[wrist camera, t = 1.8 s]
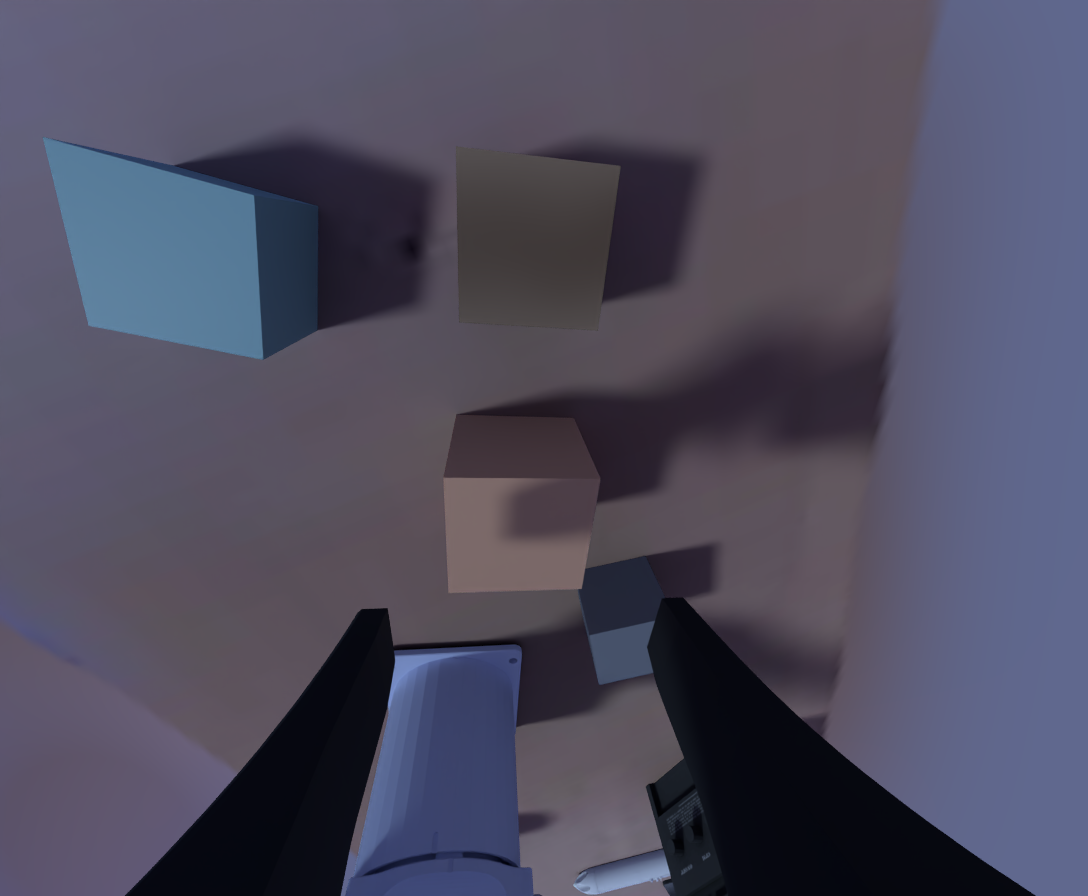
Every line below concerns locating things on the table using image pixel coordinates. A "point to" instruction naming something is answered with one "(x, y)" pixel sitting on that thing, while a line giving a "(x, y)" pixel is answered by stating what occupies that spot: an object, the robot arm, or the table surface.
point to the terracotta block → (518, 504)
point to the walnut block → (532, 238)
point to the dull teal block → (186, 253)
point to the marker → (623, 873)
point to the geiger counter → (685, 834)
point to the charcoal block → (620, 617)
